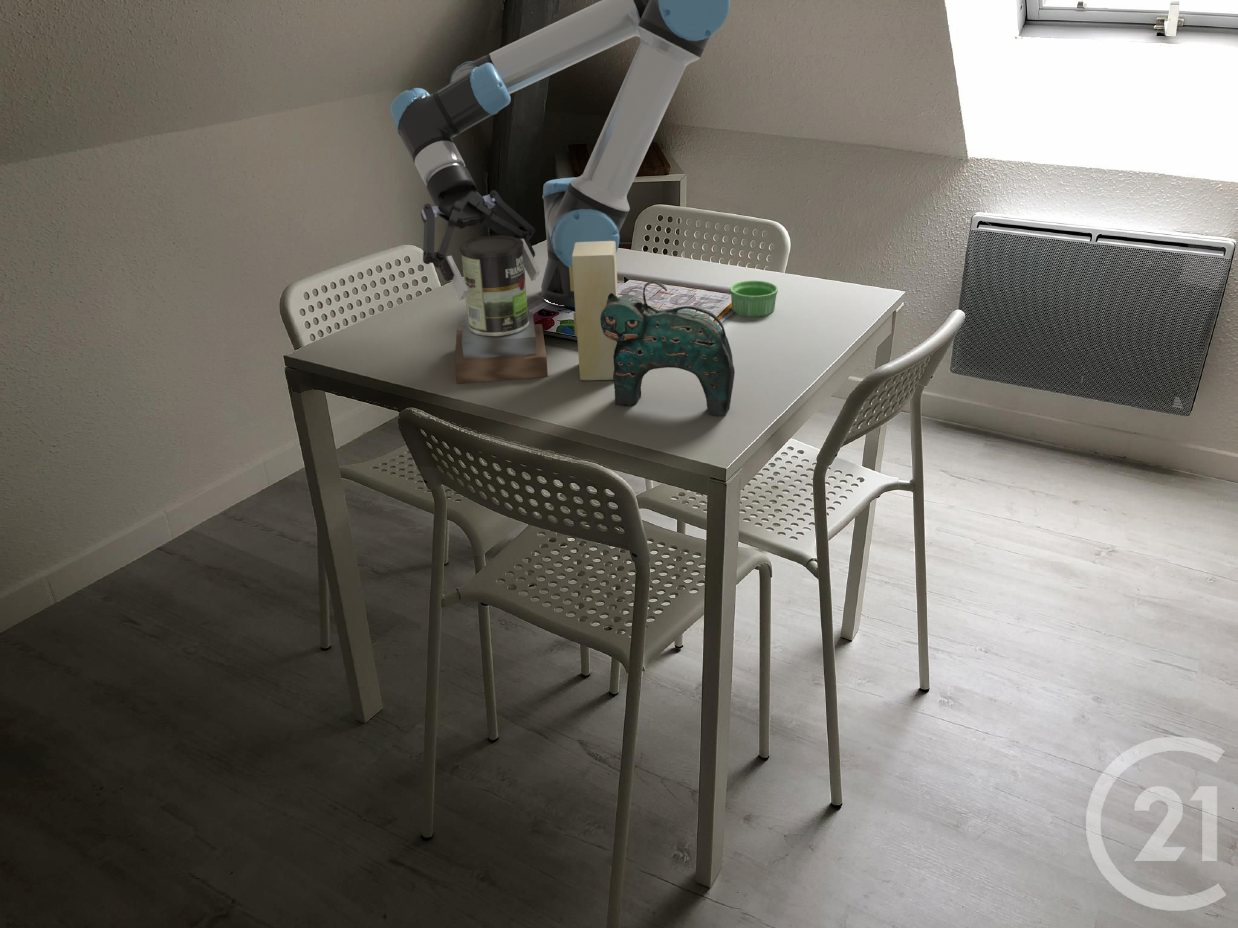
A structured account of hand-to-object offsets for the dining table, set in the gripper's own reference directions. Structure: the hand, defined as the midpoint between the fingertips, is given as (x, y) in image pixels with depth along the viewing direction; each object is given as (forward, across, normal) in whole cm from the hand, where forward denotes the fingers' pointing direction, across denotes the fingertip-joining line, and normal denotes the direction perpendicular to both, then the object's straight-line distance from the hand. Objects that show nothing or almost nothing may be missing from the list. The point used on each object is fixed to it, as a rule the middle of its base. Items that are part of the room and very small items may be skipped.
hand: (501, 285), depth 158 cm
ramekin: (+16, -50, -5) cm, 52 cm away
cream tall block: (+19, -10, -2) cm, 21 cm away
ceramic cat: (+31, -11, +11) cm, 35 cm away
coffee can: (+4, 0, -7) cm, 8 cm away
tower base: (+8, 0, -12) cm, 14 cm away
